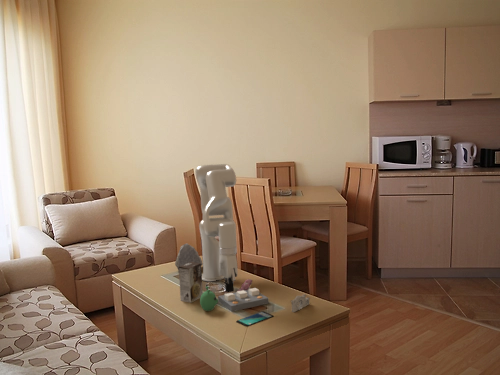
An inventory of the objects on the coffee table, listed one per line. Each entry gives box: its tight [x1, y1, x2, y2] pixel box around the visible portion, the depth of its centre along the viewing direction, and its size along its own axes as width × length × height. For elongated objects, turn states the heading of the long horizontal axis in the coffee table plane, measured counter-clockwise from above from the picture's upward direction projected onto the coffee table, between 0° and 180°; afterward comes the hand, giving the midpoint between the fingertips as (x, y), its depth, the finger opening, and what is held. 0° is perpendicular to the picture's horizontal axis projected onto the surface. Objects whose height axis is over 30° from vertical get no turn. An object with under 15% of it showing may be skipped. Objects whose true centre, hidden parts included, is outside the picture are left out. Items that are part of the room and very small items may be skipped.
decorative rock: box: [174, 243, 203, 271], centre depth 259 cm, size 16×7×15 cm, turn 118°
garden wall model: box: [290, 293, 311, 313], centre depth 198 cm, size 12×2×6 cm, turn 139°
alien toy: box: [199, 286, 219, 312], centre depth 198 cm, size 7×8×10 cm
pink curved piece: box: [237, 278, 253, 291], centre depth 221 cm, size 10×5×7 cm, turn 169°
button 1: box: [223, 292, 235, 301], centre depth 205 cm, size 4×4×3 cm
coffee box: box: [178, 262, 204, 304], centre depth 213 cm, size 9×6×16 cm
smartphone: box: [235, 310, 275, 328], centre depth 188 cm, size 7×1×15 cm
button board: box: [217, 290, 270, 312], centre depth 207 cm, size 14×18×3 cm
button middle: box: [235, 290, 247, 299], centre depth 207 cm, size 4×4×3 cm
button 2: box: [248, 287, 260, 296], centre depth 210 cm, size 4×4×3 cm
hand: (229, 291), depth 204 cm, fingers closed
